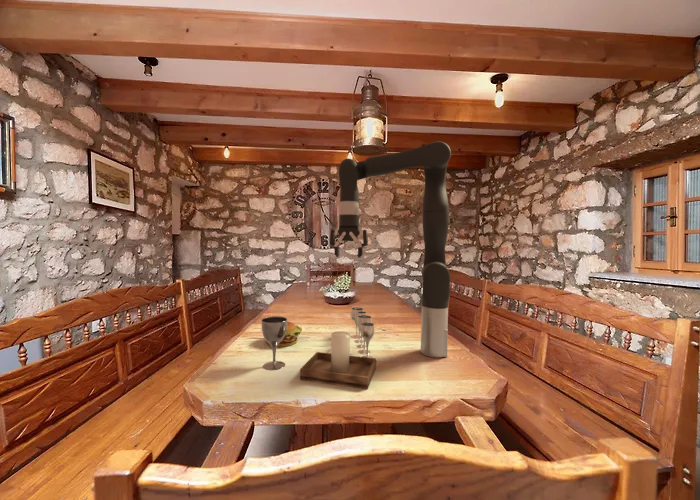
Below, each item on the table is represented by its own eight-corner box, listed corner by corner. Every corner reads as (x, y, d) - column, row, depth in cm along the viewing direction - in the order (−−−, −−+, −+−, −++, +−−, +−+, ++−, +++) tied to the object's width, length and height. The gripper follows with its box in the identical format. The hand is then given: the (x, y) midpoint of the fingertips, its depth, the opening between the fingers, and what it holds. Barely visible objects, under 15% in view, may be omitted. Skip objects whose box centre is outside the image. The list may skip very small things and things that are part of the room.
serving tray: (376, 368, 98) (376, 358, 98) (367, 389, 85) (367, 377, 85) (316, 361, 103) (316, 351, 103) (300, 379, 90) (300, 369, 90)
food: (284, 351, 112) (284, 329, 112) (257, 344, 119) (257, 323, 119) (308, 341, 124) (309, 321, 123) (283, 334, 131) (283, 316, 131)
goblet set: (376, 360, 105) (377, 322, 104) (360, 361, 104) (360, 322, 103) (362, 334, 132) (362, 304, 132) (349, 335, 132) (349, 304, 131)
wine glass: (291, 362, 102) (291, 317, 101) (278, 372, 94) (278, 323, 94) (270, 359, 104) (270, 315, 104) (256, 368, 97) (256, 321, 96)
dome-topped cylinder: (351, 367, 96) (351, 332, 96) (346, 374, 91) (346, 337, 90) (334, 365, 97) (334, 330, 97) (328, 372, 92) (328, 335, 92)
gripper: (328, 213, 114) (327, 257, 115) (365, 213, 111) (365, 258, 111) (334, 215, 122) (333, 256, 122) (369, 214, 118) (368, 257, 119)
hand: (348, 257), depth 117 cm, fingers open, 8 cm apart
